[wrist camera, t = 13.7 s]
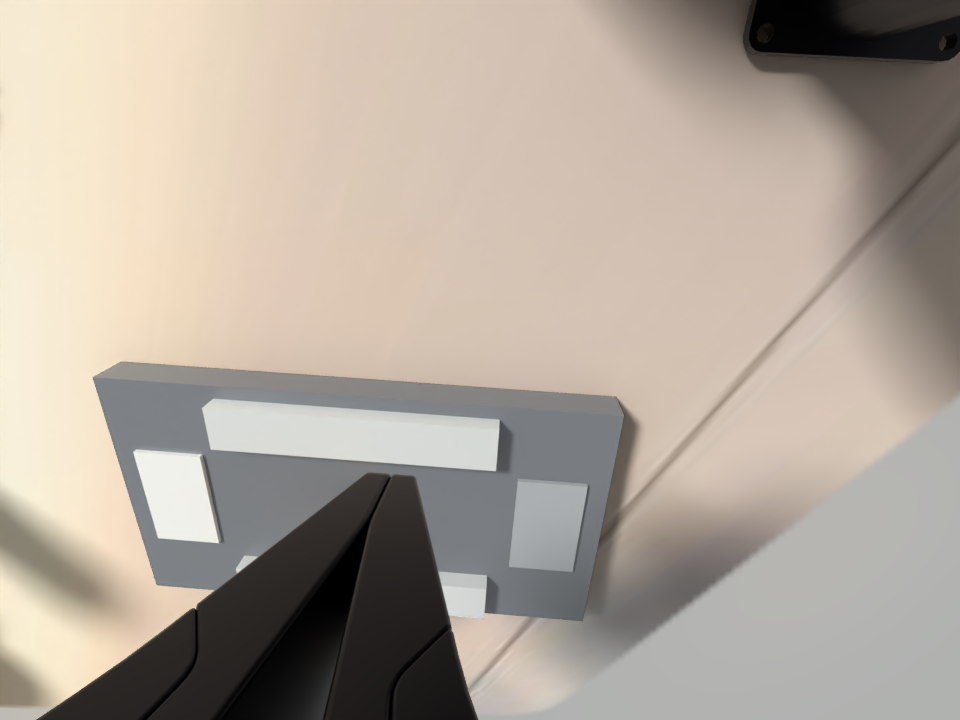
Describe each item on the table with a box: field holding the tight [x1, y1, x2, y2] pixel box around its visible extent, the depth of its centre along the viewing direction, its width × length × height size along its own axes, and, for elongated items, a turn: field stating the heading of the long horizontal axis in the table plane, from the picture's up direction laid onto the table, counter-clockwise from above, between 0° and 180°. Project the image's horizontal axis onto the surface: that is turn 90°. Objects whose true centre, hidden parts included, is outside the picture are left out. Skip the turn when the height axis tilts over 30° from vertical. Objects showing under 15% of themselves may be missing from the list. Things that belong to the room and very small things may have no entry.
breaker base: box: [93, 362, 624, 621], centre depth 22 cm, size 22×12×2 cm, turn 87°
